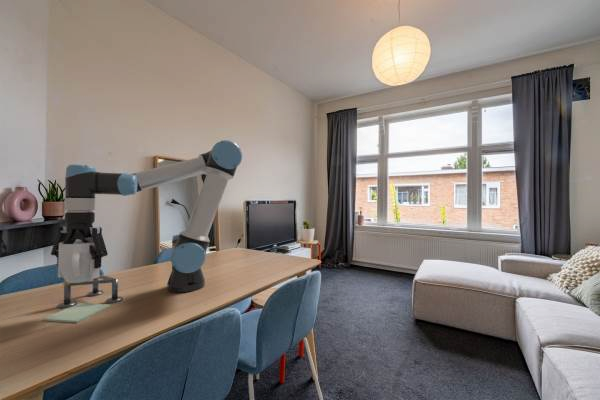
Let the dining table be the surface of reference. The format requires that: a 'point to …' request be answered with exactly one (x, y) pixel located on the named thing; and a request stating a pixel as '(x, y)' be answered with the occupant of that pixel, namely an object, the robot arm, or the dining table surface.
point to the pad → (76, 313)
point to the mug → (75, 261)
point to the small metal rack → (95, 291)
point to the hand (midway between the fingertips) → (78, 277)
